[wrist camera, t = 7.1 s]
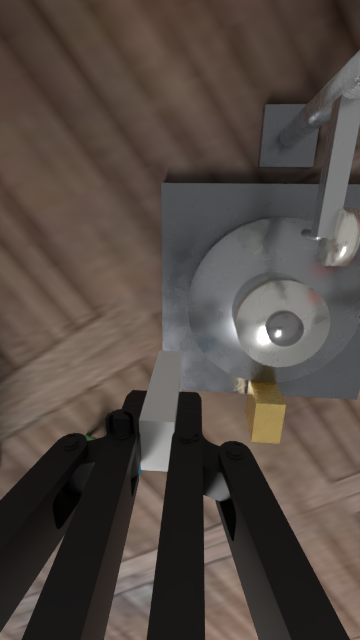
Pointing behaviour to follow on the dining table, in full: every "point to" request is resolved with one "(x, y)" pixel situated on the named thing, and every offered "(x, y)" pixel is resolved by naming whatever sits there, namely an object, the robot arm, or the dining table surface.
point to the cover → (279, 319)
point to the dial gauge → (299, 151)
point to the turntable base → (192, 244)
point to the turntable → (235, 270)
